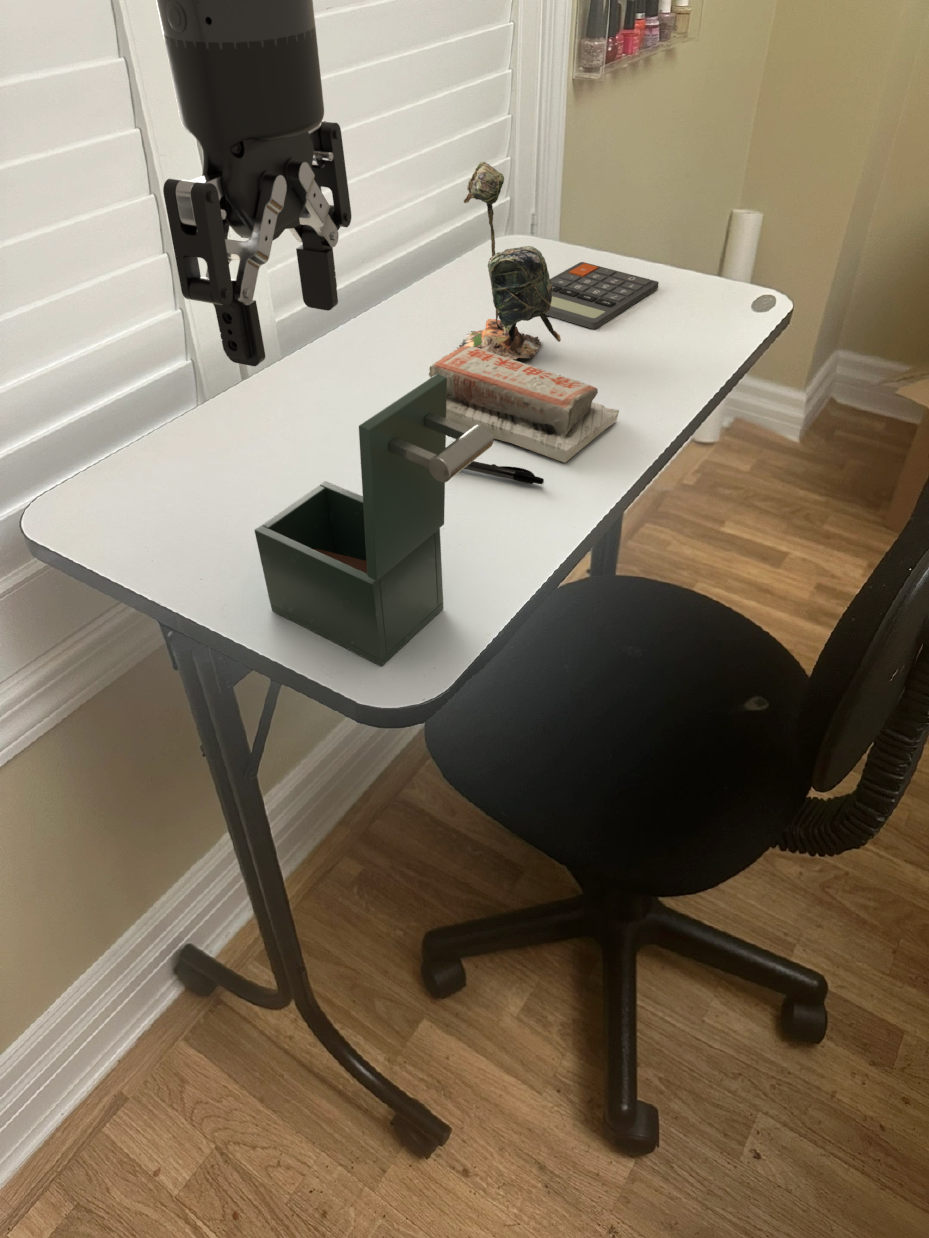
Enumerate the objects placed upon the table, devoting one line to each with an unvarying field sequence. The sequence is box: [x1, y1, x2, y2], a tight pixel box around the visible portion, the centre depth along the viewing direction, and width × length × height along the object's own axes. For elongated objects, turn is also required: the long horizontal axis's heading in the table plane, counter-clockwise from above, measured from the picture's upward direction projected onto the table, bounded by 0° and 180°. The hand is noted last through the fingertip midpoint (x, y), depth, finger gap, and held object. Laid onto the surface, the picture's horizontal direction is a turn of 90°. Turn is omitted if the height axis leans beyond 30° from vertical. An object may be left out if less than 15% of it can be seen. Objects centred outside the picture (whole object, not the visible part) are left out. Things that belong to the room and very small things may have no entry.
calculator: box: [545, 261, 660, 330], centre depth 112 cm, size 12×1×15 cm
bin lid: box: [358, 374, 494, 581], centre depth 57 cm, size 12×8×5 cm
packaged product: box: [428, 346, 620, 464], centre depth 89 cm, size 18×5×10 cm
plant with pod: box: [456, 161, 562, 360], centre depth 95 cm, size 8×11×20 cm
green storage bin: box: [254, 480, 444, 667], centre depth 67 cm, size 11×8×8 cm
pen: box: [463, 460, 545, 485], centre depth 83 cm, size 14×2×1 cm, turn 66°
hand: (286, 333), depth 56 cm, fingers open, 8 cm apart
